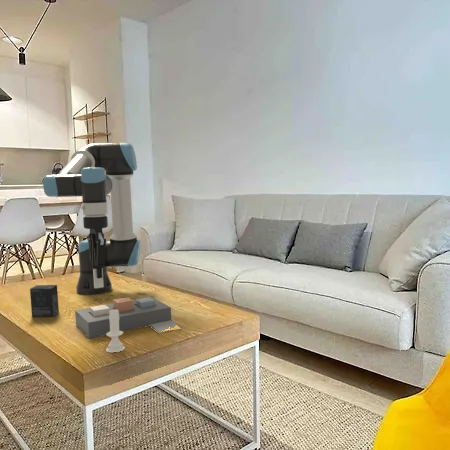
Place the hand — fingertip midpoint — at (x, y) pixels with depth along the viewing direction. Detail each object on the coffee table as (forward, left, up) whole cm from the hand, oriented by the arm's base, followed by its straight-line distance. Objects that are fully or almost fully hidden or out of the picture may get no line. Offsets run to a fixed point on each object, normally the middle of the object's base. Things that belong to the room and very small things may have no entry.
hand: (98, 287), depth 144 cm
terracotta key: (0, +8, -10) cm, 12 cm away
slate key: (0, +16, -11) cm, 19 cm away
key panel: (0, +8, -14) cm, 16 cm away
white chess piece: (+22, -2, -14) cm, 26 cm away
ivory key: (0, 0, -11) cm, 11 cm away
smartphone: (+10, +18, -14) cm, 25 cm away
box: (-26, -12, -14) cm, 32 cm away
